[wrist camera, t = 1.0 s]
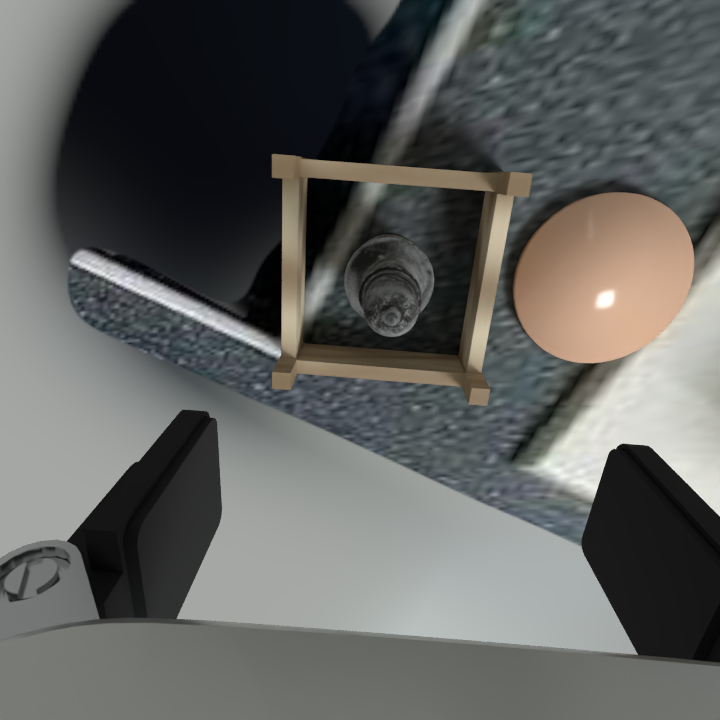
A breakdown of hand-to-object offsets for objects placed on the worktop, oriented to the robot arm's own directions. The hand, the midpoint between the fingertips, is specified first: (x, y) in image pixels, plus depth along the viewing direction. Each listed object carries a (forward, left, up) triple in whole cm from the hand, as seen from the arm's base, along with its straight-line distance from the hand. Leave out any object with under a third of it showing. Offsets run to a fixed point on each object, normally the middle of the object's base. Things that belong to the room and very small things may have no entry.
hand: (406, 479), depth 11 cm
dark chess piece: (0, 0, -24) cm, 24 cm away
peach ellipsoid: (-1, +15, -24) cm, 28 cm away
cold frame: (0, 0, -24) cm, 24 cm away
